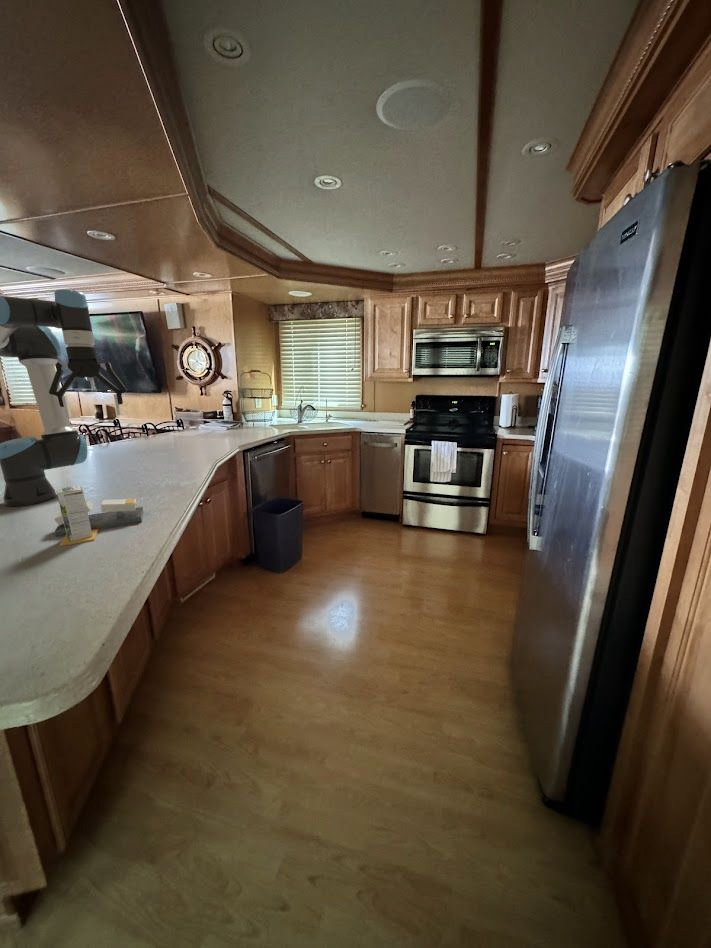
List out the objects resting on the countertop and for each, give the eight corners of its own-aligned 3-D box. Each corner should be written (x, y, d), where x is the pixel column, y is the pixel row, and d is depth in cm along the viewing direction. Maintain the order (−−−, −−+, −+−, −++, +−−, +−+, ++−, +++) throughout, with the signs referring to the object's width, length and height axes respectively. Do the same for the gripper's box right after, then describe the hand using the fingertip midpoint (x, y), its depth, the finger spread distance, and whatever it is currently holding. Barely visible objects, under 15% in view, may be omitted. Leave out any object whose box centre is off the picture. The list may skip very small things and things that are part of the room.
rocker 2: (103, 507, 120) (103, 499, 119) (136, 506, 124) (136, 498, 124) (101, 512, 116) (101, 503, 115) (135, 510, 120) (135, 503, 119)
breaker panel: (64, 524, 119) (62, 514, 118) (143, 512, 128) (141, 502, 127) (56, 536, 110) (53, 525, 109) (141, 522, 119) (139, 512, 118)
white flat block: (63, 519, 116) (58, 513, 115) (93, 505, 119) (89, 499, 118) (59, 525, 112) (54, 519, 111) (90, 510, 114) (86, 504, 113)
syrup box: (66, 536, 109) (54, 488, 105) (90, 530, 113) (80, 484, 109) (68, 542, 105) (56, 493, 101) (94, 536, 109) (83, 488, 105)
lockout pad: (66, 535, 110) (66, 534, 110) (98, 530, 114) (98, 528, 114) (59, 546, 104) (59, 545, 103) (94, 540, 107) (94, 538, 107)
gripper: (24, 345, 106) (42, 420, 112) (126, 346, 116) (138, 414, 122) (33, 346, 112) (50, 417, 118) (128, 347, 122) (140, 412, 128)
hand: (94, 416), depth 120 cm, fingers open, 13 cm apart
